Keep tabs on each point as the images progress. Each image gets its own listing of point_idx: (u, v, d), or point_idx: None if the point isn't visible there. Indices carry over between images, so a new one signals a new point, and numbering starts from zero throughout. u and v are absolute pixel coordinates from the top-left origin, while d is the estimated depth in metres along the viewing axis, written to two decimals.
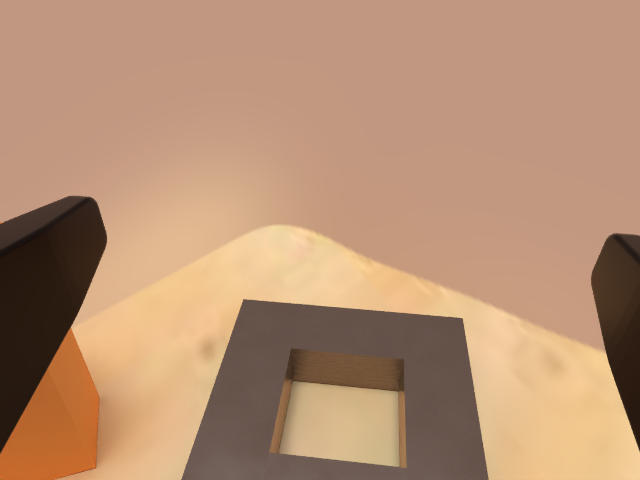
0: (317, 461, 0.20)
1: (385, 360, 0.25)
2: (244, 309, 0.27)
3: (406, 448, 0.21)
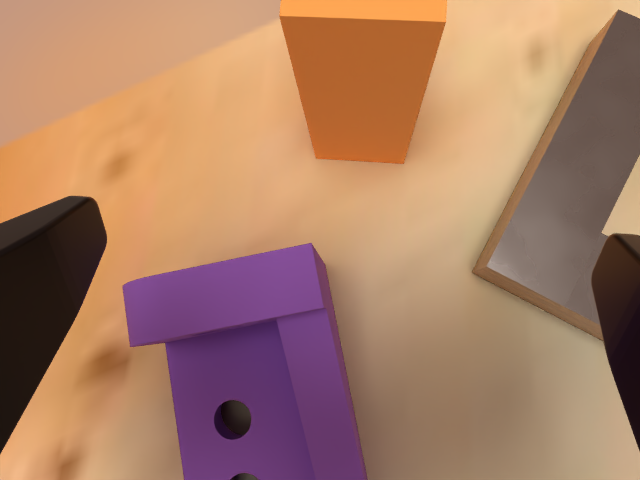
0: None
1: None
2: (615, 27, 0.20)
3: None
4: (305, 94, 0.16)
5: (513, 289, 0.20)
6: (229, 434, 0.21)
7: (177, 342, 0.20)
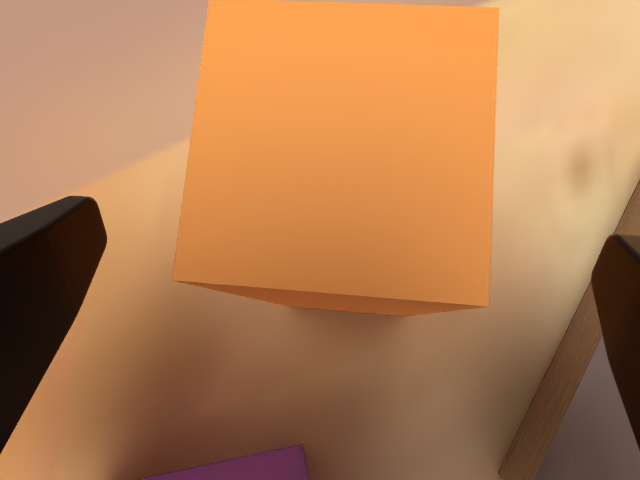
0: None
1: None
2: None
3: None
4: (254, 297, 0.11)
5: None
6: None
7: None
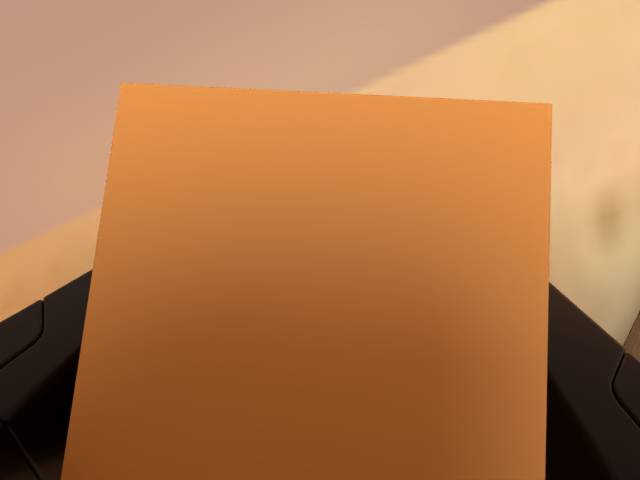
0: None
1: None
2: None
3: None
4: None
5: None
6: None
7: None
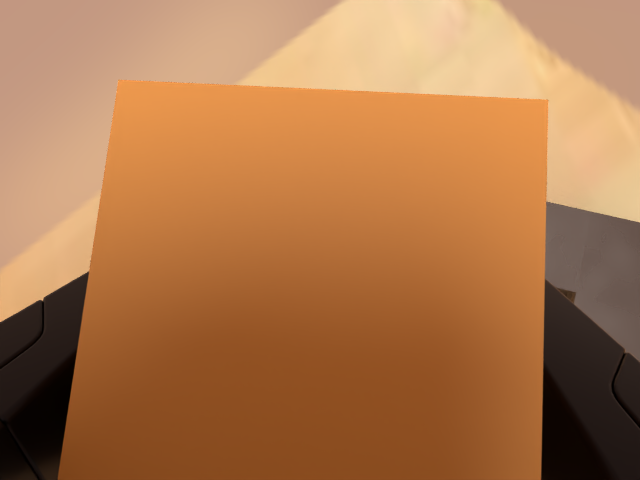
0: None
1: None
2: None
3: None
4: None
5: None
6: None
7: None
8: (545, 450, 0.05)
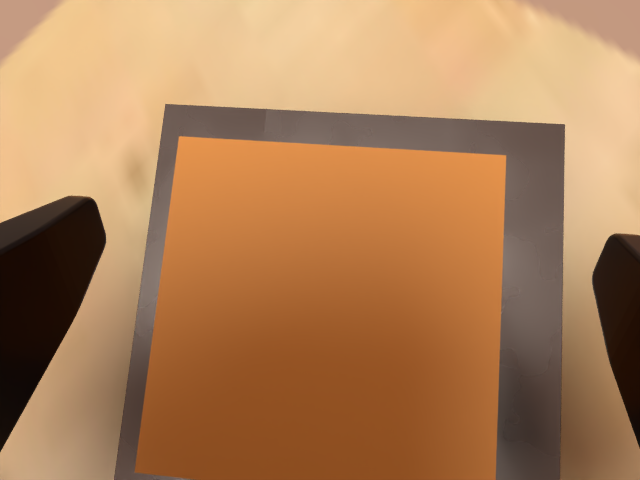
0: None
1: None
2: (169, 128, 0.15)
3: None
4: None
5: None
6: None
7: None
8: None
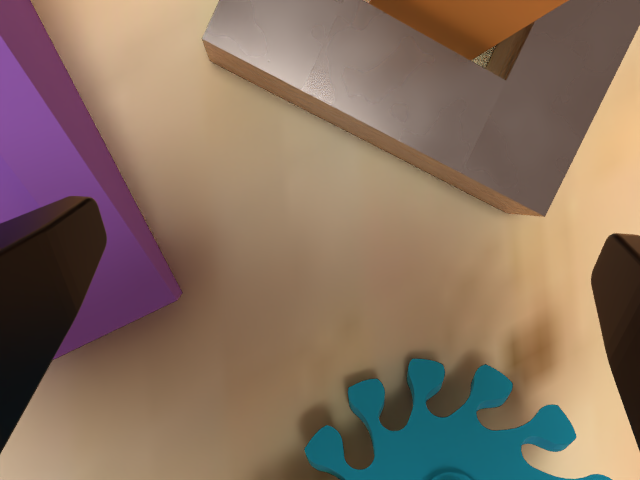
0: (404, 29, 0.15)
1: None
2: None
3: (518, 55, 0.16)
4: None
5: (254, 77, 0.16)
6: None
7: None
8: None
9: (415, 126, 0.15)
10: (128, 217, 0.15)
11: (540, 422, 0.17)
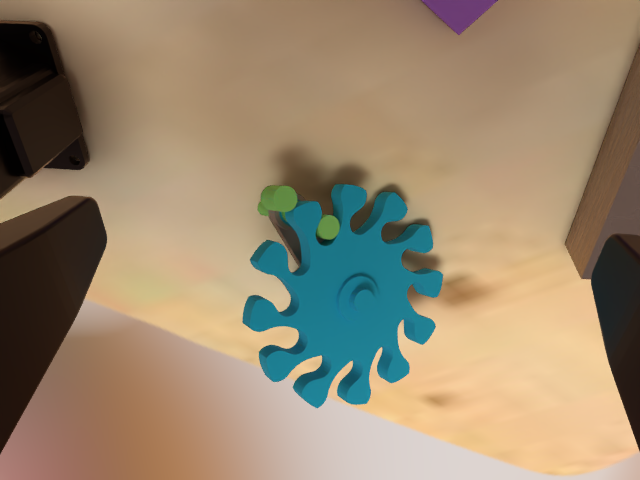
0: None
1: None
2: None
3: None
4: None
5: None
6: None
7: None
8: None
9: None
10: None
11: (422, 322, 0.24)
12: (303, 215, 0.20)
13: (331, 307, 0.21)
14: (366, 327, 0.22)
